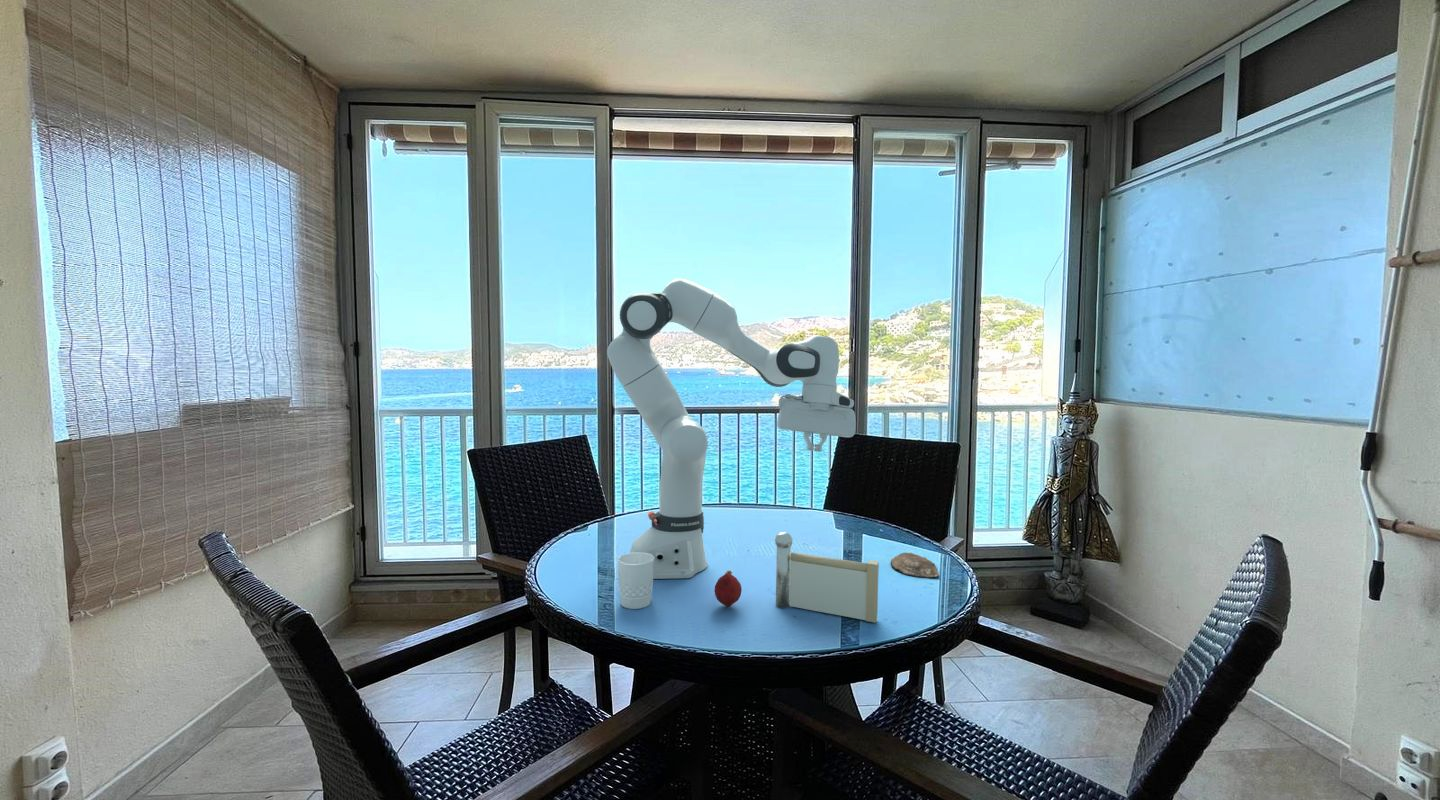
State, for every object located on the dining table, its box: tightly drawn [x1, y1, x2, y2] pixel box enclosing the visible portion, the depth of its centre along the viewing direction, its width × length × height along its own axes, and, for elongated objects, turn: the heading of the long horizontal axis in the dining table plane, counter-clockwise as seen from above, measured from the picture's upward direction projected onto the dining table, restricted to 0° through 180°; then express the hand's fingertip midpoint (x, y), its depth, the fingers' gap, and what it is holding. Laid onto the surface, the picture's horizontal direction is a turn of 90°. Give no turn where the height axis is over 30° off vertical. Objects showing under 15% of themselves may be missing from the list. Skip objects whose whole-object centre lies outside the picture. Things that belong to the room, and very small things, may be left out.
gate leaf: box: [789, 551, 880, 624], centre depth 115 cm, size 18×2×12 cm, turn 67°
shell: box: [890, 552, 940, 579], centre depth 143 cm, size 12×13×4 cm
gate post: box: [774, 531, 793, 609], centre depth 119 cm, size 4×4×16 cm
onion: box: [713, 570, 742, 608], centre depth 118 cm, size 6×6×8 cm
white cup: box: [617, 552, 654, 610], centre depth 120 cm, size 8×8×10 cm
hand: (813, 451), depth 141 cm, fingers closed
